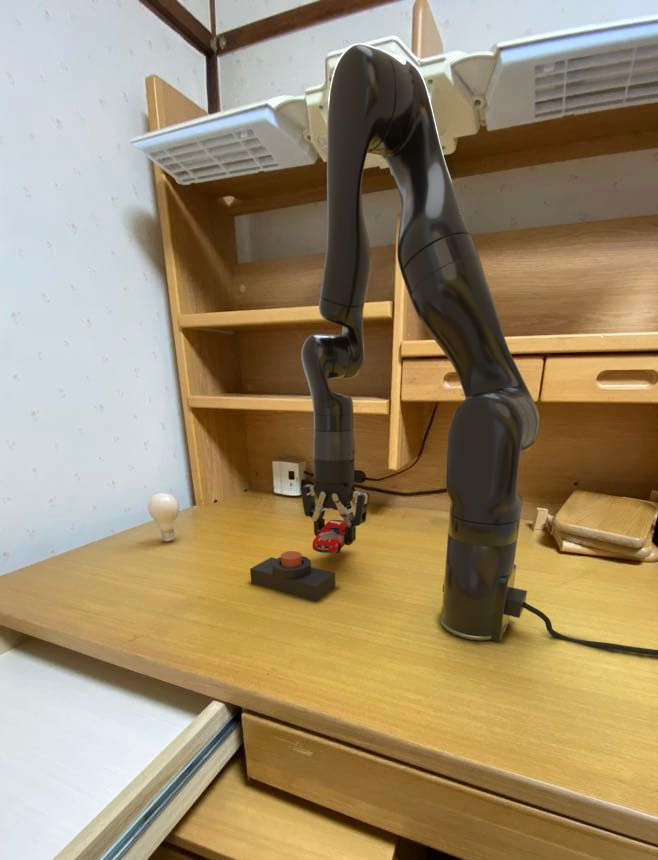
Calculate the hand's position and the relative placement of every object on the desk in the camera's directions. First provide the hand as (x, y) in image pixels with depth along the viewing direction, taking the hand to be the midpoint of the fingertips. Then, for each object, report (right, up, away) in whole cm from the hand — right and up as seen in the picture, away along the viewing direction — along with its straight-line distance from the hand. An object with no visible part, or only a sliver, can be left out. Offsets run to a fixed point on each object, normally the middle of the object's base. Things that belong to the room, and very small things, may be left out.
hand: (334, 540), depth 89 cm
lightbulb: (-37, 0, +13) cm, 39 cm away
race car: (0, -1, 0) cm, 1 cm away
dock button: (-7, -4, -10) cm, 13 cm away
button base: (-7, -8, -8) cm, 14 cm away
